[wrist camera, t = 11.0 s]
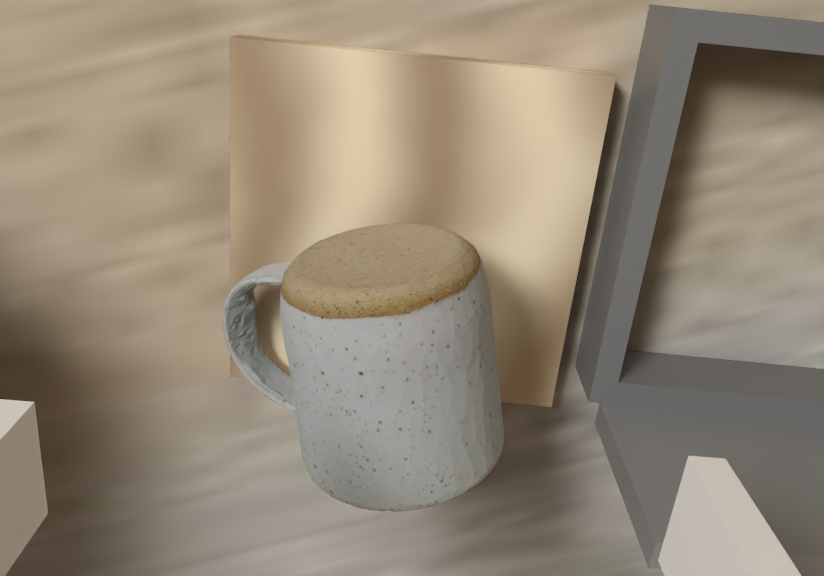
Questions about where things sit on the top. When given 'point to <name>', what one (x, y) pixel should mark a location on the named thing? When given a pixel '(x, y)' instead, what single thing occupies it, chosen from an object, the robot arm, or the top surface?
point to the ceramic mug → (382, 363)
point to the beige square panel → (420, 175)
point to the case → (683, 375)
